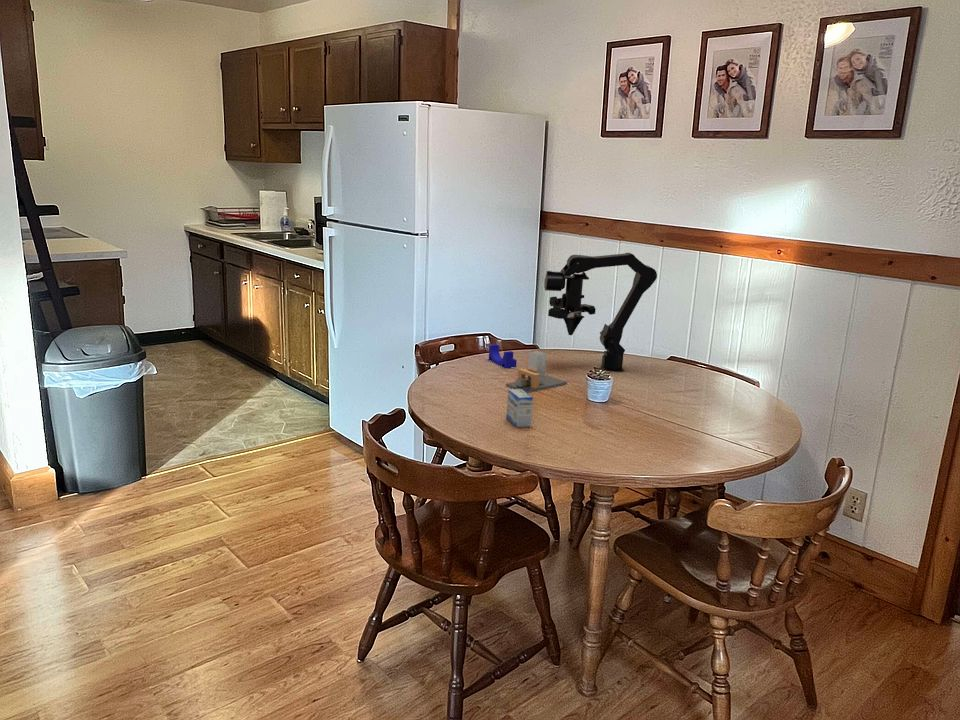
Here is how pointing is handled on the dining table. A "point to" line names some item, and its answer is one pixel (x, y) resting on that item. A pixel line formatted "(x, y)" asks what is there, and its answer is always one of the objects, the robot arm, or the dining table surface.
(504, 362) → the cable clip
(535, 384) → the lug
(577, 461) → the dining table surface
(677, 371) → the dining table surface
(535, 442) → the dining table surface
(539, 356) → the latch
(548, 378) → the grey flat plate
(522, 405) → the medicine box
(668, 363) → the dining table surface
